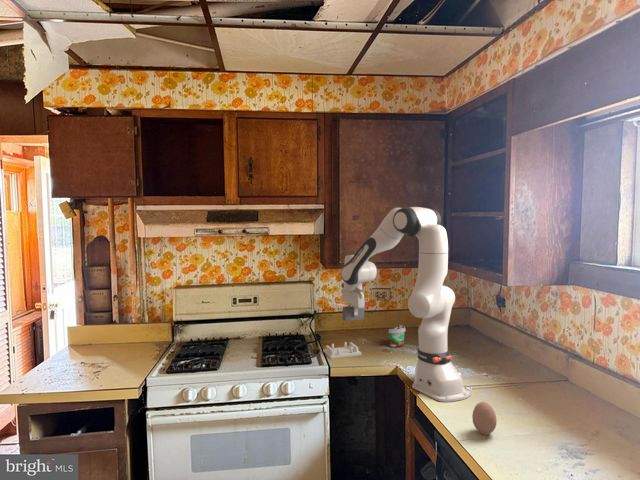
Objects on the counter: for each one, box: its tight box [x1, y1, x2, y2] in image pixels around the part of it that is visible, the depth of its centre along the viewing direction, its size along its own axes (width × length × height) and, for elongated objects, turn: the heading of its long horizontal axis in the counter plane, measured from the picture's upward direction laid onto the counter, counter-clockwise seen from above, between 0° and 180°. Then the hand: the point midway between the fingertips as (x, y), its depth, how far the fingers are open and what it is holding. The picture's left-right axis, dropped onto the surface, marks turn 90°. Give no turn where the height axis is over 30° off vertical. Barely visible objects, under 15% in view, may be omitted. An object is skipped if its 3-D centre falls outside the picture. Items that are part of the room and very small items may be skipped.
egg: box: [471, 401, 498, 436], centre depth 118 cm, size 7×7×10 cm
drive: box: [342, 305, 366, 322], centre depth 192 cm, size 4×10×6 cm, turn 108°
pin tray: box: [322, 341, 363, 360], centre depth 195 cm, size 12×16×4 cm
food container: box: [388, 323, 407, 349], centre depth 204 cm, size 12×6×10 cm, turn 143°
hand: (353, 313), depth 193 cm, fingers closed on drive, 4 cm apart
